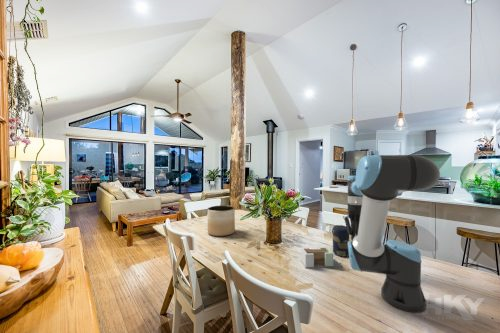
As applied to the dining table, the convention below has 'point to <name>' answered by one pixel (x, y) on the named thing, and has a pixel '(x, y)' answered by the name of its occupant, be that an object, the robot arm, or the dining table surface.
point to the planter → (221, 220)
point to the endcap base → (309, 260)
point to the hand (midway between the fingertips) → (355, 247)
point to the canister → (340, 240)
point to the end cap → (328, 257)
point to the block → (318, 255)
